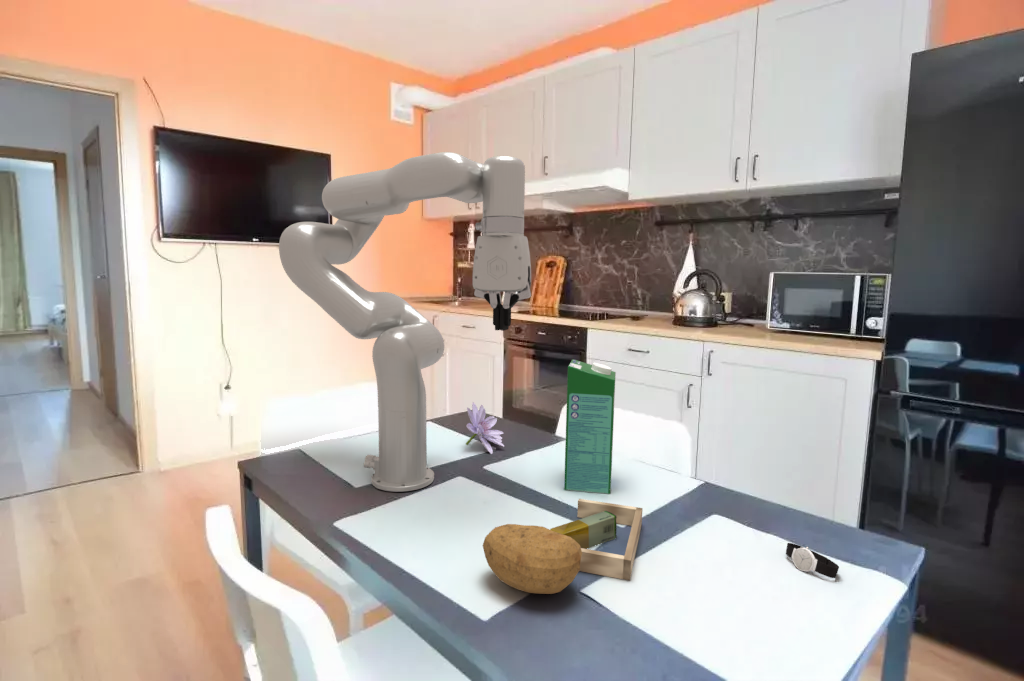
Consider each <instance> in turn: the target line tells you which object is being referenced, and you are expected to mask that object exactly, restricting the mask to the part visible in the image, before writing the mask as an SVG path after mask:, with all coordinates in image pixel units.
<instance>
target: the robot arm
mask: <svg viewBox="0 0 1024 681" xmlns="http://www.w3.org/2000/svg"><path fill="white" fill-rule="evenodd" d="M525 166H526V165H525V163H524V161H523V160H522V159H520V158H518V157H517V156H515V157H514V156H508V155H507V156H506V155H497V156H492V157H488V158H487V159H486V160H485V161H484V162H483V163H480V162H478V161H476V160H473V159H470V158H468V157H466V156H464V155H461V154H460V153H457V152H451V151H443V152H437V153H429V154H423V155H418V156H414V157H410V158H407V159H404V160H402V161H400V162H399V163H397V164H395V165H393V166H392V167H389V168H386V169H381V170H374V171H368V172H363V173H357V174H352V175H345V176H340V177H337V178H334V179H332V180H330V181H329V182H328V183H327V184H326V185H325V186H324V188H323V189H322V193H321V201H322V204H323V208H324V209H325V210H326V212H327V213H328V214H329V215H331V216H332V217H333V218H335V219H337V221H336V222H335V223H334V224H331V223H324V222H316V221H300V222H295V223H293V224H290V225H289V226H288V227H286V228H284V229H283V231H282V233H281V235H280V237H279V243H278V253H279V254H278V255H279V259H280V262H281V266H282V268H283V270H284V271H285V272H284V273H285V274H286V276H287V277H288V278H289V279H290V281H291V282H292V283H293V284H294V286H296V287H297V288H298V289H299V290H300V291H301V292H303V294H305V295H306V296H307V297H309V298H310V299H311V300H312V301H313V302H314V303H316V304H317V305H318V306H319V307H320V308H321V309H322V310H323V311H324V312H325V313H326V314H327V315H328V316H330V317H331V318H332V320H334V321H335V322H336V323H338V324H339V326H341V327H342V328H343V329H344V330H345V331H347V333H348V334H350V335H351V336H352V337H354V338H356V339H358V340H372V339H375V341H374V343H373V346H372V356H371V357H372V364H373V366H374V372H375V378H376V379H375V380H376V385H377V386H376V387H377V388H376V389H377V407H378V410H377V412H378V413H377V414H378V455H373V454H367V455H365V458H364V462H363V467H364V468H368V469H372V470H374V471H373V473H372V475H371V478H370V479H371V485H372V486H374V487H375V488H376V489H378V490H381V491H386V492H394V493H397V492H398V493H400V492H401V493H402V492H411V491H412V492H413V491H415V490H420V489H422V488H426V487H427V486H429V485H430V484H432V483H433V482H434V479H435V472H434V470H433V469H431V468H430V467H427V465H428V464H427V458H428V457H427V450H428V449H427V448H428V446H427V391H426V385H425V381H424V378H423V374H422V369H426V368H428V367H431V366H433V365H435V364H436V363H437V362H439V361H440V359H441V358H442V357H443V355H444V352H445V342H444V337H443V335H442V333H441V332H440V330H439V329H438V328H437V327H436V326H435V325H434V324H433V323H432V322H431V321H430V320H429V319H427V318H426V317H425V316H424V315H423V314H422V313H420V312H419V311H418V310H417V309H415V307H414V306H412V305H411V304H410V303H409V302H407V300H405V299H404V298H402V297H401V296H399V295H397V294H395V293H392V292H388V291H375V292H374V291H368V290H367V289H365V288H364V287H362V286H361V285H360V284H358V283H357V282H356V281H355V280H354V279H353V278H352V277H351V276H349V275H348V274H347V273H346V272H345V271H342V270H341V269H339V268H337V267H336V266H334V265H338V266H339V265H345V264H348V263H350V262H351V261H352V260H353V259H354V258H356V257H357V256H358V254H359V253H360V251H361V250H363V247H365V245H366V243H367V242H368V241H369V239H370V238H371V236H372V235H373V234H374V233H375V232H376V231H377V229H378V228H379V226H380V224H381V222H382V221H383V220H384V218H385V217H386V216H393V215H401V214H402V213H404V212H406V211H407V210H408V208H409V206H410V203H414V202H418V201H422V200H423V201H424V200H430V199H436V198H437V199H439V198H449V199H452V200H457V201H459V202H461V203H465V204H476V203H477V204H478V203H482V218H481V219H480V220H481V221H479V222H475V226H474V227H475V230H476V231H479V232H481V234H482V235H479V236H478V235H477V237H476V238H477V239H476V243H475V249H474V257H473V264H472V266H473V267H472V287H473V289H474V292H473V293H474V294H473V295H474V296H475V297H476V298H480V299H484V300H485V301H486V302H487V303H488V304H489V305H490V307H491V308H492V325H493V326H494V330H495V331H501V332H502V331H508V330H509V328H510V326H511V324H512V309H513V308H514V306H515V305H516V304H517V303H518V302H519V301H521V300H524V299H529V298H531V296H532V293H531V285H532V265H531V252H530V246H529V240H528V237H527V236H526V235H525V234H524V233H525V199H526V198H525V194H526V192H525V190H526V187H525V186H526V184H525V183H526V182H525V181H526V167H525ZM501 292H503V293H504V294H503V295H504V296H503V302H502V297H501ZM517 292H518V293H517Z"/></svg>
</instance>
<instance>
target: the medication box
mask: <svg viewBox="0 0 1024 681" xmlns="http://www.w3.org/2000/svg"><path fill="white" fill-rule="evenodd" d="M616 518H617V516H616V515H614V514H613V513H610V512H608V511H603V512H600V513H597V514H594V515H591V516H588V517H585V518H579V519H575V520H574V521H569V522H568V523H565V524H561V525H558V526H555V527H552V528H550V529H549V530H551V531H554V532H557V533H560V534H563V535H566V536H569V537H571V538H572V539H574V540H575V541H576V542H577V543H578V544H579V545H580V547H581V548H584V549H587V548H588V549H590V548H593V547H595V545H596V546H599V545H602V544H604V542H605V543H607V541H608V542H610V541H613V540H615V538H616V539H617V537H618V536H617V523H616ZM601 543H602V544H601ZM598 544H599V545H598Z"/></svg>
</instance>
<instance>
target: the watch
mask: <svg viewBox="0 0 1024 681" xmlns="http://www.w3.org/2000/svg"><path fill="white" fill-rule="evenodd" d="M785 555H786V556H788V557H789V559H791V560H792V562H793V564H794V567H796V568H797V569H798V570H800V571H801V572H805V573H806V572H807V573H809V572H811V571H813V573H814V572H816V573H818V574H819V575H822V576H825V577H828V578H830V579H836V578H837V575H838V572H839V569H840V566H839V565H838V564H837V563H835V562H834V561H832V560H831V559H829V558H827V557H826V556H823V555H822V554H819V553H818V552H816V551H814V550H811V549H809V547H808V546H806V547H804V546H801V545H798V544H796V543H791V542H787V543H786V549H785Z"/></svg>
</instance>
